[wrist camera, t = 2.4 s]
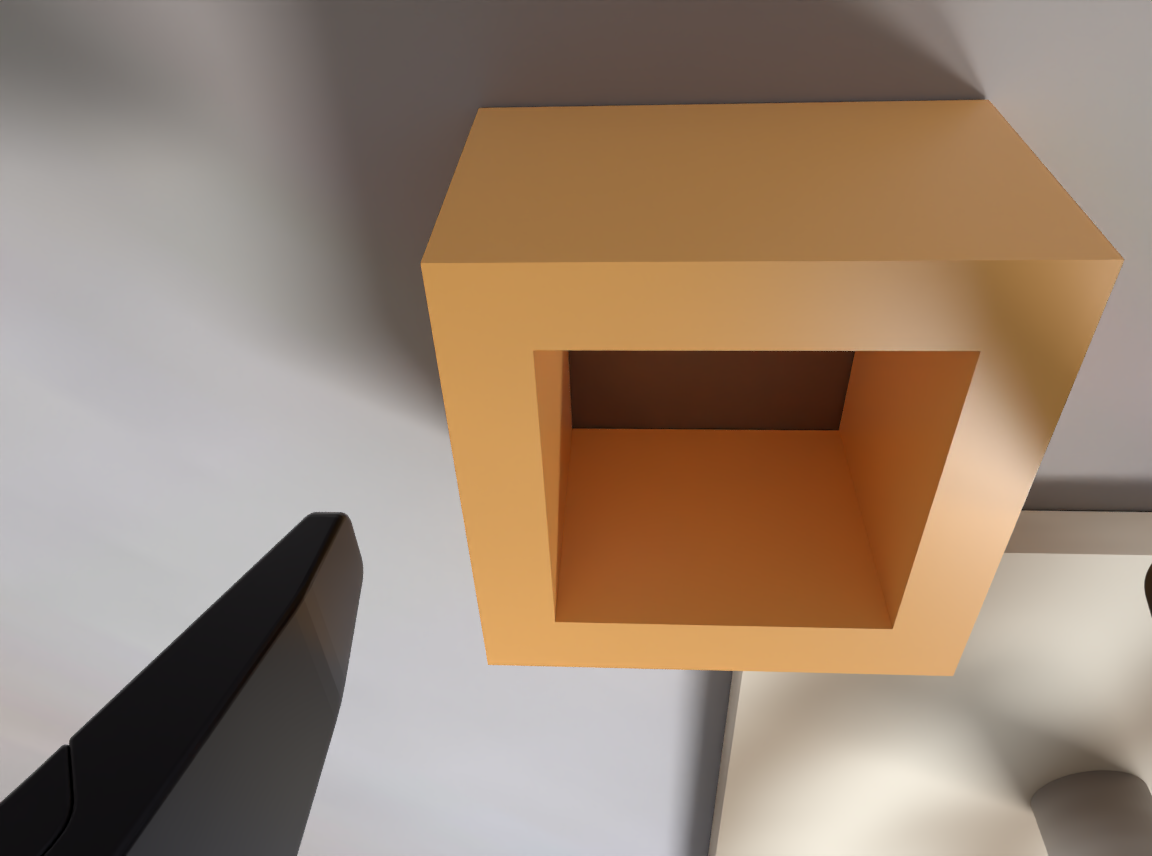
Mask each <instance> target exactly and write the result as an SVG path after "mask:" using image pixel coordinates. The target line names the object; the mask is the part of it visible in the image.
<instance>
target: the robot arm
mask: <svg viewBox="0 0 1152 856" xmlns="http://www.w3.org/2000/svg"><path fill="white" fill-rule="evenodd" d="M362 581H363V562H362V557H361V554H360V551H359V547H358V544H357V540H356V537H355V533H354V530H353V526H352V523H351V520H350V518H349V517H348V515H347V514H345V513H342V512H314V513H311V514H309V515H307V516H306V517H305V518H304V519H303V520H302V521H301V522H300V523H299V524H297V525H296V526H295V527H294V528H293V529H292V530H291V531H290V532H289V533H288V534H287V535H286V536H285V537H284V538H283V539H282V540H280V541H279V542H278V543H277V544H276V545H275V546H274V547H273V548H272V549H271V550H270V551H269V552H268V553H267V554H266V555H265V556H263V557H262V558H261V559H260V560H259V561H258V562H257V563H256V564H255V565H254V566H253V567H252V568H251V569H250V570H249V571H248V572H246V573H245V574H244V575H243V576H242V577H241V578H240V579H239V580H238V581H237V582H236V583H235V584H234V585H233V586H232V587H231V588H229V589H228V590H227V591H226V592H225V593H224V594H223V595H222V596H221V597H220V598H219V599H218V600H217V601H216V602H215V603H214V604H212V605H211V606H210V607H209V608H208V609H207V610H206V611H205V612H204V613H203V614H202V615H201V616H200V617H199V618H198V619H197V620H195V621H194V622H193V623H192V624H191V625H190V626H189V627H188V628H187V629H186V630H185V631H184V632H183V633H182V634H181V635H180V636H178V637H177V638H176V639H175V640H174V641H173V642H172V643H171V644H170V645H169V646H168V647H167V648H166V649H165V650H164V651H163V652H161V653H160V654H159V655H158V656H157V657H156V658H155V659H154V660H153V661H152V662H151V663H150V664H149V665H148V666H147V667H146V668H144V669H143V670H142V671H141V672H140V673H139V674H138V675H137V676H136V677H135V678H134V679H133V680H132V681H131V682H130V683H129V684H127V685H126V686H125V687H124V688H123V689H122V690H121V691H120V692H119V693H118V694H117V695H116V696H115V697H114V698H113V699H112V700H110V701H109V702H108V703H107V704H106V705H105V706H104V707H103V708H102V709H101V710H100V711H99V712H98V713H97V714H96V715H95V716H93V717H92V718H91V719H90V720H89V721H88V722H87V723H86V724H85V725H84V726H83V727H82V728H81V729H80V730H79V731H78V732H76V733H75V734H74V735H73V736H72V737H71V738H70V741H69V745H63V746H61V747H60V748H59V749H58V750H57V751H56V752H55V753H54V754H53V755H52V756H51V757H50V758H48V759H47V760H46V761H45V762H44V763H43V764H42V765H41V766H40V767H39V768H38V769H37V770H36V771H35V772H34V773H33V774H31V775H30V776H29V777H28V778H27V779H26V780H25V781H24V782H23V783H21V784H20V785H19V786H18V787H17V788H16V789H15V790H14V791H13V792H11V793H10V794H9V795H8V796H7V797H6V798H5V799H4V800H3V801H2V802H0V856H297V854H298V851H299V847H300V844H301V840H302V837H303V834H304V830H305V827H306V823H307V820H308V817H309V813H310V810H311V806H312V803H313V799H314V796H315V793H316V789H317V786H318V782H319V779H320V776H321V772H322V769H323V765H324V762H325V758H326V755H327V752H328V748H329V745H330V741H331V738H332V735H333V731H334V728H335V724H336V721H337V717H338V713H339V709H340V706H341V702H342V697H343V692H344V687H345V681H346V675H347V670H348V664H349V658H350V652H351V646H352V640H353V634H354V628H355V622H356V617H357V611H358V605H359V599H360V593H361V587H362ZM1144 590H1145V596H1146V600H1147V603H1148V607H1149V610H1150V614H1151V617H1152V564H1151V565H1150V567H1149V569H1148V571H1147V573H1146V576H1145V580H1144Z"/></svg>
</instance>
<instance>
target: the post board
mask: <svg viewBox="0 0 1152 856" xmlns="http://www.w3.org/2000/svg"><path fill="white" fill-rule="evenodd" d="M1151 564H1152V512H1095V511H1021V512H1020V515H1019V517H1018V520H1017V522H1016V525H1015V527H1014V529H1013V532H1012V534H1011V537H1010V539H1009V542H1008V544H1007V546H1006V549H1005V551H1004V554H1003V556H1002V559H1001V561H1000V563H999V566H998V568H997V571H996V573H995V576H994V578H993V580H992V583H991V585H990V588H989V590H988V593H987V595H986V597H985V600H984V602H983V605H982V607H981V610H980V612H979V615H978V617H977V619H976V622H975V624H974V627H973V629H972V632H971V634H970V636H969V639H968V641H967V644H966V646H965V649H964V651H963V653H962V656H961V658H960V661H959V663H958V666H957V668H956V670H955V673H954V675H953V676H926V675H885V674H845V673H804V672H763V671H733V673H732V681H731V688H730V696H729V703H728V710H727V718H726V725H725V733H724V740H723V748H722V755H721V762H720V770H719V777H718V785H717V792H716V800H715V807H714V815H713V822H712V829H711V837H710V844H709V852H708V856H1152V617H1151V614H1150V610H1149V607H1148V603H1147V600H1146V596H1145V590H1144V580H1145V576H1146V573H1147V571H1148V569H1149V567H1150V565H1151Z"/></svg>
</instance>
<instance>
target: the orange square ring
mask: <svg viewBox="0 0 1152 856" xmlns="http://www.w3.org/2000/svg"><path fill="white" fill-rule="evenodd" d="M1123 262H1124V258H1123V257H1122V256H1121V255H1120V254H1119V253H1118V251H1117V250H1116V249H1115V248H1114V247H1113V246H1112V244H1111V243H1110V242H1109V241H1108V240H1107V238H1106V237H1105V236H1104V235H1103V234H1102V233H1101V231H1100V230H1099V229H1098V228H1097V227H1096V226H1095V224H1094V223H1093V222H1092V221H1091V220H1090V218H1089V217H1088V216H1087V215H1086V214H1085V213H1084V211H1083V210H1082V209H1081V208H1080V207H1079V206H1078V204H1077V203H1076V202H1075V201H1074V200H1073V198H1072V197H1071V196H1070V195H1069V194H1068V193H1067V191H1066V190H1065V189H1064V188H1063V187H1062V185H1061V184H1060V183H1059V182H1058V181H1057V180H1056V178H1055V177H1054V176H1053V175H1052V174H1051V173H1050V171H1049V170H1048V169H1047V168H1046V167H1045V165H1044V164H1043V163H1042V162H1041V161H1040V160H1039V158H1038V157H1037V156H1036V155H1035V154H1034V153H1033V151H1032V150H1031V149H1030V148H1029V147H1028V145H1027V144H1026V143H1025V142H1024V141H1023V140H1022V138H1021V137H1020V136H1019V135H1018V134H1017V133H1016V131H1015V130H1014V129H1013V128H1012V127H1011V125H1010V124H1009V123H1008V122H1007V121H1006V120H1005V118H1004V117H1003V116H1002V115H1001V114H1000V113H999V111H998V110H997V109H996V108H995V107H994V105H993V104H992V103H991V102H990V101H989V100H936V101H874V102H813V103H751V104H690V105H628V106H567V107H505V108H479V109H478V112H477V114H476V117H475V119H474V122H473V125H472V127H471V130H470V133H469V135H468V138H467V141H466V143H465V146H464V149H463V151H462V154H461V157H460V159H459V162H458V165H457V167H456V170H455V173H454V175H453V178H452V181H451V183H450V186H449V189H448V191H447V194H446V196H445V199H444V202H443V204H442V207H441V210H440V212H439V215H438V218H437V220H436V223H435V226H434V228H433V231H432V234H431V236H430V239H429V242H428V244H427V247H426V250H425V252H424V255H423V258H422V260H421V269H422V275H423V281H424V287H425V293H426V299H427V305H428V311H429V317H430V323H431V329H432V335H433V341H434V346H435V352H436V358H437V364H438V370H439V376H440V382H441V388H442V394H443V400H444V406H445V412H446V418H447V424H448V429H449V435H450V441H451V447H452V453H453V459H454V465H455V471H456V477H457V483H458V489H459V495H460V501H461V507H462V513H463V518H464V524H465V530H466V536H467V542H468V548H469V554H470V560H471V566H472V572H473V578H474V584H475V590H476V596H477V601H478V607H479V613H480V619H481V625H482V631H483V637H484V643H485V649H486V655H487V661H488V665H519V666H559V667H600V668H641V669H682V670H722V671H763V672H804V673H845V674H885V675H926V676H953V675H954V673H955V670H956V668H957V666H958V663H959V661H960V658H961V656H962V653H963V651H964V649H965V646H966V644H967V641H968V639H969V636H970V634H971V632H972V629H973V627H974V624H975V622H976V619H977V617H978V615H979V612H980V610H981V607H982V605H983V602H984V600H985V597H986V595H987V593H988V590H989V588H990V585H991V583H992V580H993V578H994V576H995V573H996V571H997V568H998V566H999V563H1000V561H1001V559H1002V556H1003V554H1004V551H1005V549H1006V546H1007V544H1008V542H1009V539H1010V537H1011V534H1012V532H1013V529H1014V527H1015V525H1016V522H1017V520H1018V517H1019V515H1020V512H1021V510H1022V508H1023V505H1024V503H1025V500H1026V498H1027V495H1028V493H1029V491H1030V488H1031V486H1032V483H1033V481H1034V478H1035V476H1036V474H1037V471H1038V469H1039V466H1040V464H1041V461H1042V459H1043V456H1044V454H1045V452H1046V449H1047V447H1048V444H1049V442H1050V439H1051V437H1052V435H1053V432H1054V430H1055V427H1056V425H1057V422H1058V420H1059V418H1060V415H1061V413H1062V410H1063V408H1064V405H1065V403H1066V401H1067V398H1068V396H1069V393H1070V391H1071V388H1072V386H1073V384H1074V381H1075V379H1076V376H1077V374H1078V371H1079V369H1080V367H1081V364H1082V362H1083V359H1084V357H1085V354H1086V352H1087V350H1088V347H1089V345H1090V342H1091V340H1092V337H1093V335H1094V332H1095V330H1096V328H1097V325H1098V323H1099V320H1100V318H1101V315H1102V313H1103V311H1104V308H1105V306H1106V303H1107V301H1108V298H1109V296H1110V294H1111V291H1112V289H1113V286H1114V284H1115V281H1116V279H1117V277H1118V274H1119V272H1120V269H1121V267H1122V264H1123ZM568 350H632V351H855V354H854V359H853V364H852V369H851V374H850V379H849V383H848V388H847V393H846V398H845V403H844V408H843V413H842V418H841V422H840V427H839V430H713V429H575V428H572V414H571V394H570V374H569V354H568Z"/></svg>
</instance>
